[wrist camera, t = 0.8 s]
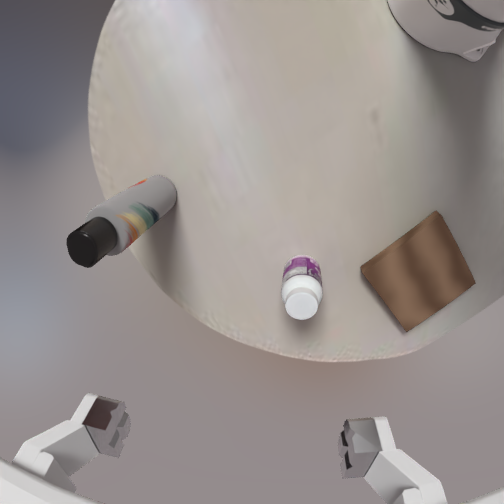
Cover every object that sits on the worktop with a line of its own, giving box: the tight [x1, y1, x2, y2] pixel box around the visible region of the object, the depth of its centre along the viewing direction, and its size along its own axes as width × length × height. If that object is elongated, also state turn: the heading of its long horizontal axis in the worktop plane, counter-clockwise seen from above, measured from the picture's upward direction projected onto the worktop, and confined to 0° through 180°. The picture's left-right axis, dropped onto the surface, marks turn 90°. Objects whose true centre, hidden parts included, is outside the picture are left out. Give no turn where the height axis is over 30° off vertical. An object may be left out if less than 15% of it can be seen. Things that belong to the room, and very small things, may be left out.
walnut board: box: [361, 211, 475, 332], centre depth 44 cm, size 14×14×2 cm
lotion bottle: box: [67, 175, 177, 268], centre depth 36 cm, size 6×6×20 cm
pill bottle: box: [281, 255, 323, 320], centre depth 43 cm, size 5×5×10 cm
